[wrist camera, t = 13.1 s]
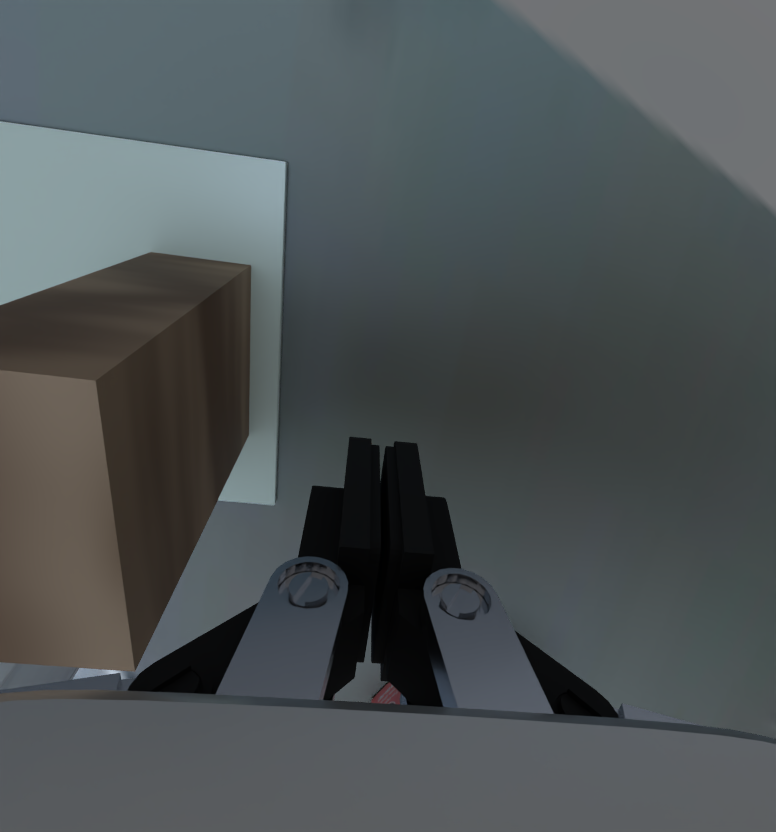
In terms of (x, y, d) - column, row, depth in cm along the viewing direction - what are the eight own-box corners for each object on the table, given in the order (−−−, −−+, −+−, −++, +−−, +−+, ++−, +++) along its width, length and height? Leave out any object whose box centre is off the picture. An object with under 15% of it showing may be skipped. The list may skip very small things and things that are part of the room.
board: (287, 161, 17) (285, 161, 16) (275, 500, 23) (274, 505, 22) (-227, 89, 15) (-241, 87, 15) (-94, 467, 22) (-102, 472, 21)
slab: (251, 265, 18) (95, 381, 8) (249, 435, 21) (135, 671, 11) (150, 252, 18) (-139, 354, 8) (163, 426, 21) (-32, 660, 11)
